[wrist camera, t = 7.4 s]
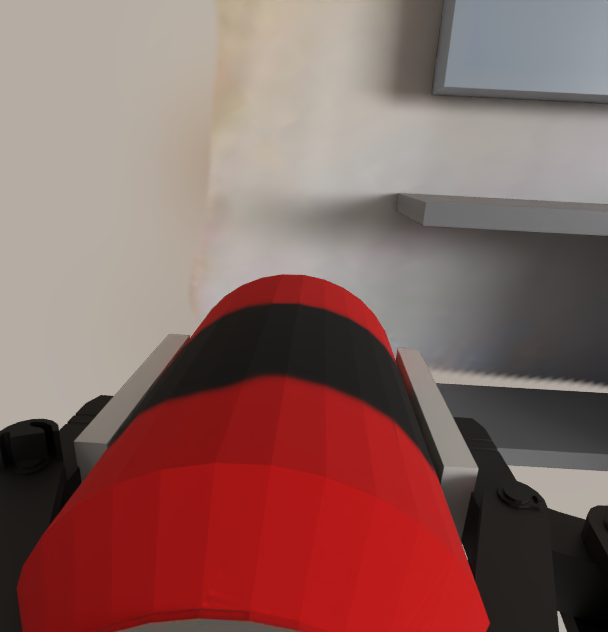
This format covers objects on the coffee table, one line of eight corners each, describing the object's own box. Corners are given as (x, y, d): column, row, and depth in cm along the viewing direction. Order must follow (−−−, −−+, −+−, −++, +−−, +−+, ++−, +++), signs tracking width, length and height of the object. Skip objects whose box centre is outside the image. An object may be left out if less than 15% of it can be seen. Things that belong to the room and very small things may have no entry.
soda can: (211, 453, 19) (35, 911, 7) (179, 278, 16) (-161, 560, 5) (393, 445, 18) (509, 924, 7) (390, 264, 16) (568, 540, 4)
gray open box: (397, 193, 26) (462, 213, 14) (746, 211, 25) (1097, 248, 14) (375, 393, 30) (410, 533, 18) (674, 410, 29) (899, 563, 18)
